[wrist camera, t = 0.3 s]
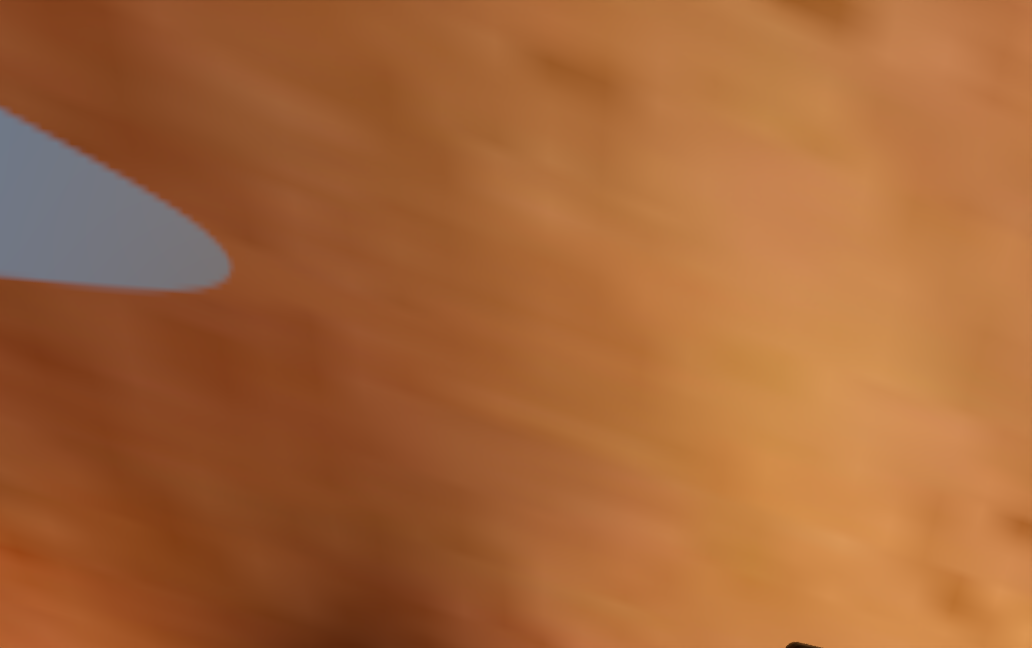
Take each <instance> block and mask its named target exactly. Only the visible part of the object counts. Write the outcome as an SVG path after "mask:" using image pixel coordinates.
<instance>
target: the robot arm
mask: <svg viewBox="0 0 1032 648" xmlns="http://www.w3.org/2000/svg"><path fill="white" fill-rule="evenodd" d="M786 648H821V647H817V646H812V645H808V644H804V643H799V642H792V643H790V644H789V645H787V646H786Z"/></svg>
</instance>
